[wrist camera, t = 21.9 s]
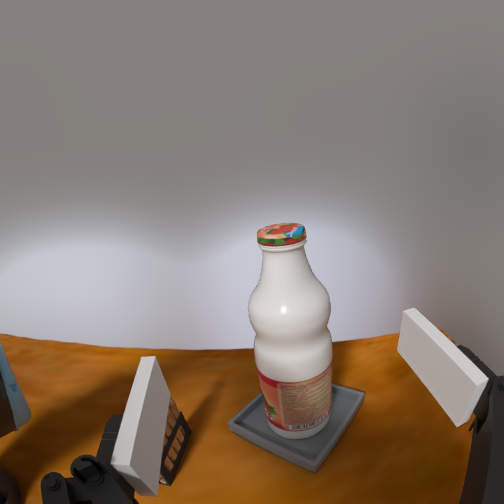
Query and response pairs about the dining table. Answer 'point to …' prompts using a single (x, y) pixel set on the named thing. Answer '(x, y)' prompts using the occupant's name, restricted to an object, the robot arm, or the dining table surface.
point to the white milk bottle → (291, 335)
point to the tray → (299, 450)
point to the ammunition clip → (173, 443)
